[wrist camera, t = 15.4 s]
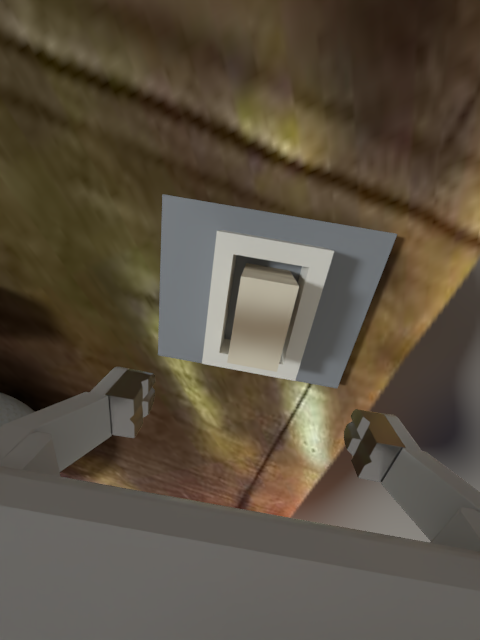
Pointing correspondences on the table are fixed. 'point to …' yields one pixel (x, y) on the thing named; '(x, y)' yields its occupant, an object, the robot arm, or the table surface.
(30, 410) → the cereal bowl
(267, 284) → the key block
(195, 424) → the table surface
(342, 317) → the cradle
